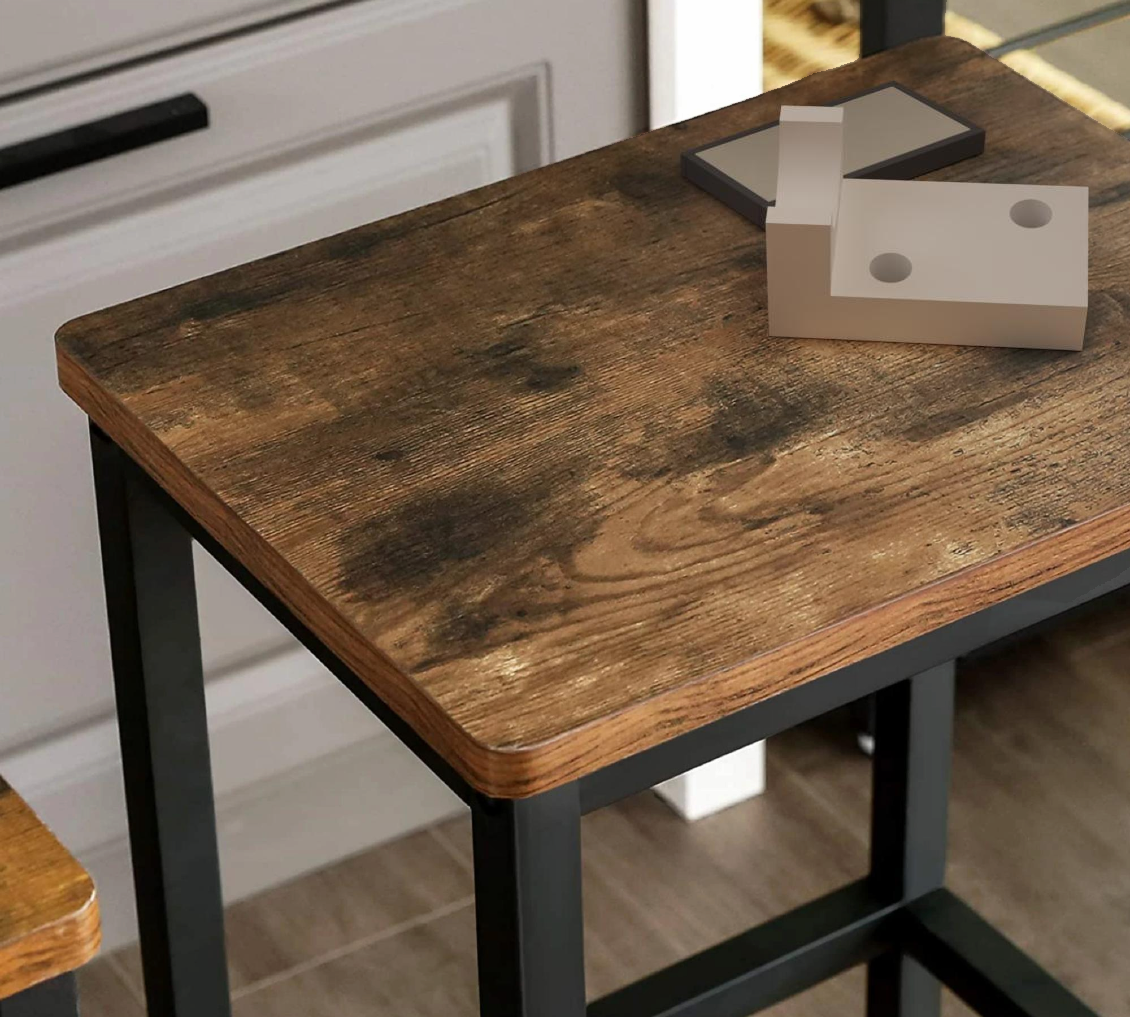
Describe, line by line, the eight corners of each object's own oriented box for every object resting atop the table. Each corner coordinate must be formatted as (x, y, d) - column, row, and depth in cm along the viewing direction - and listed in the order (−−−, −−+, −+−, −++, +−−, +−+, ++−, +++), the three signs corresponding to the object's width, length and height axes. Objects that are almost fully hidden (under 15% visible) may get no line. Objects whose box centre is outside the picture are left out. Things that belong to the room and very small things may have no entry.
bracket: (769, 351, 93) (765, 222, 87) (784, 235, 97) (781, 105, 91) (1079, 365, 90) (1097, 235, 84) (1080, 246, 95) (1097, 114, 89)
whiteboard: (892, 101, 109) (893, 79, 108) (984, 152, 104) (986, 129, 104) (680, 174, 104) (679, 152, 103) (766, 231, 99) (766, 208, 98)
